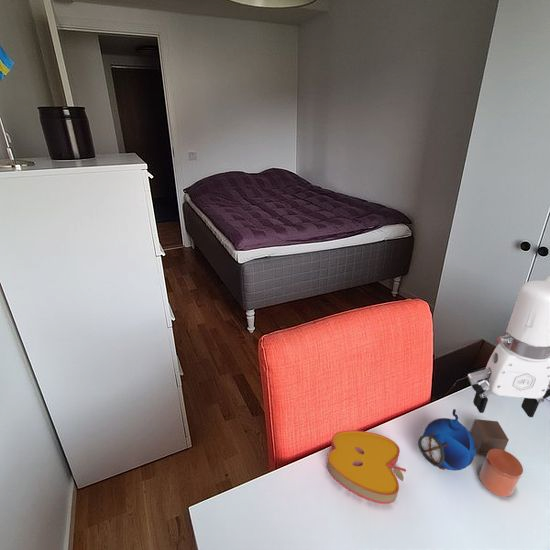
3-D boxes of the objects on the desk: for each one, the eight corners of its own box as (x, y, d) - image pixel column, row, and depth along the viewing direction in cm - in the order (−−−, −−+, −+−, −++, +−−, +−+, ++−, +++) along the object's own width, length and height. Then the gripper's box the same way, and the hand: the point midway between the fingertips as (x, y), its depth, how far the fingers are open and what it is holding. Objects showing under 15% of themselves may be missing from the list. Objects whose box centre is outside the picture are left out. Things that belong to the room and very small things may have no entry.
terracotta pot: (504, 470, 72) (513, 450, 69) (519, 498, 66) (529, 478, 64) (474, 466, 72) (482, 446, 70) (486, 494, 67) (496, 474, 64)
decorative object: (321, 488, 67) (402, 516, 62) (323, 475, 65) (406, 503, 61) (334, 434, 79) (402, 455, 74) (336, 421, 77) (406, 442, 73)
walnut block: (491, 437, 79) (497, 421, 77) (501, 456, 75) (509, 439, 73) (468, 434, 80) (474, 418, 78) (478, 453, 75) (484, 437, 73)
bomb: (405, 451, 75) (419, 399, 69) (440, 434, 79) (456, 384, 73) (442, 491, 67) (461, 436, 61) (478, 470, 72) (500, 417, 65)
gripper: (488, 352, 63) (466, 420, 70) (589, 359, 62) (557, 428, 69) (471, 329, 70) (453, 393, 77) (562, 335, 68) (535, 400, 75)
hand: (502, 410), depth 73 cm, fingers open, 9 cm apart
